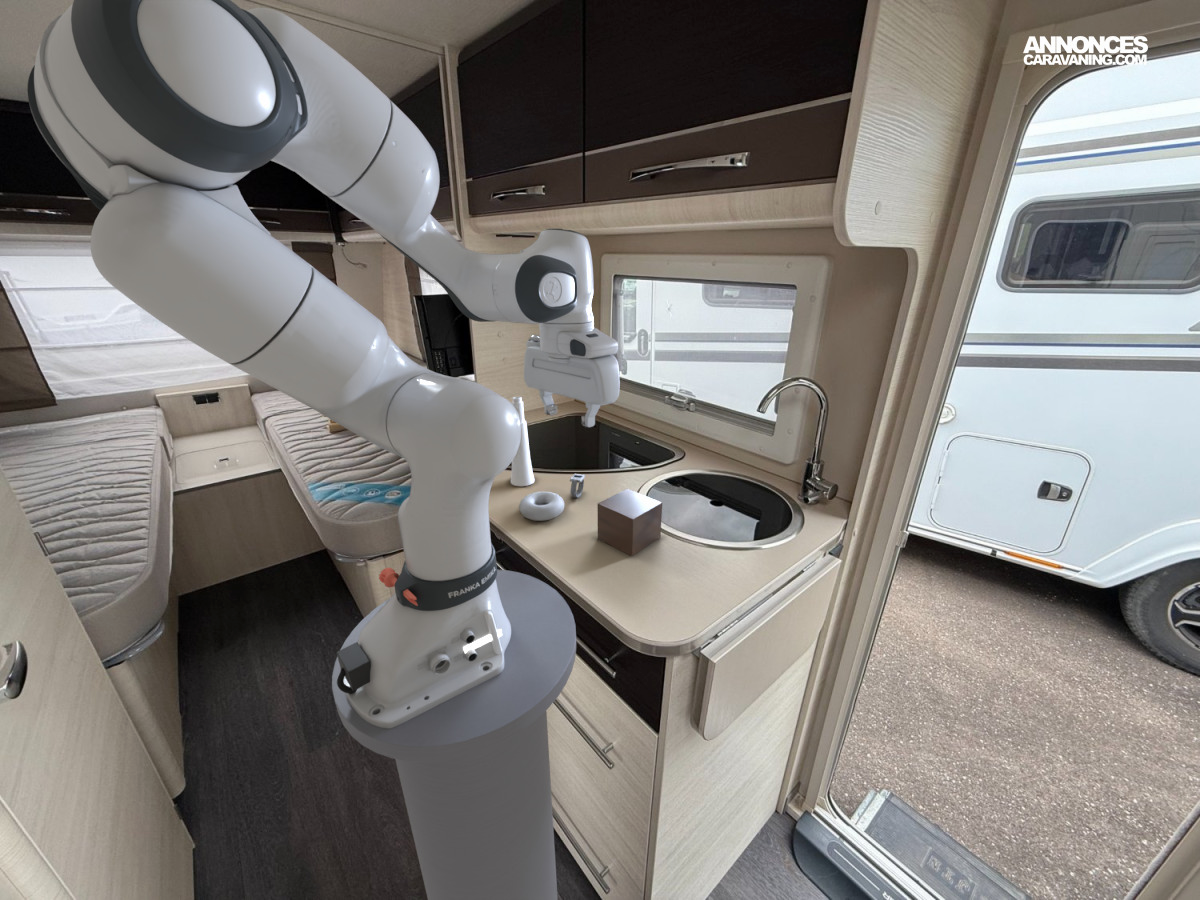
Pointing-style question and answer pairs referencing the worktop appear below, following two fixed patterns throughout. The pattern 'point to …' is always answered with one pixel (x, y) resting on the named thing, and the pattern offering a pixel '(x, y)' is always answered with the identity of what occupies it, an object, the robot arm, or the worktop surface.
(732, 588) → the worktop surface
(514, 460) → the cosmetic bottle
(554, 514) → the donut
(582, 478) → the wristwatch
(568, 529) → the worktop surface
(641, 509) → the walnut block
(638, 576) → the worktop surface
